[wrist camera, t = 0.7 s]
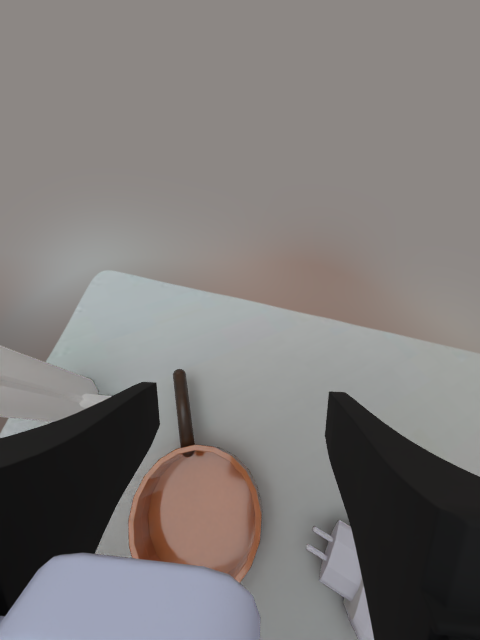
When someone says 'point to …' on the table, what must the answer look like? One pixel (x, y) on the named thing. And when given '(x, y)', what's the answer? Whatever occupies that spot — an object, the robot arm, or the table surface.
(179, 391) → the pan handle
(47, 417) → the white spray bottle
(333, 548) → the charger
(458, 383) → the table surface
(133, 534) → the pan
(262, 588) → the table surface
